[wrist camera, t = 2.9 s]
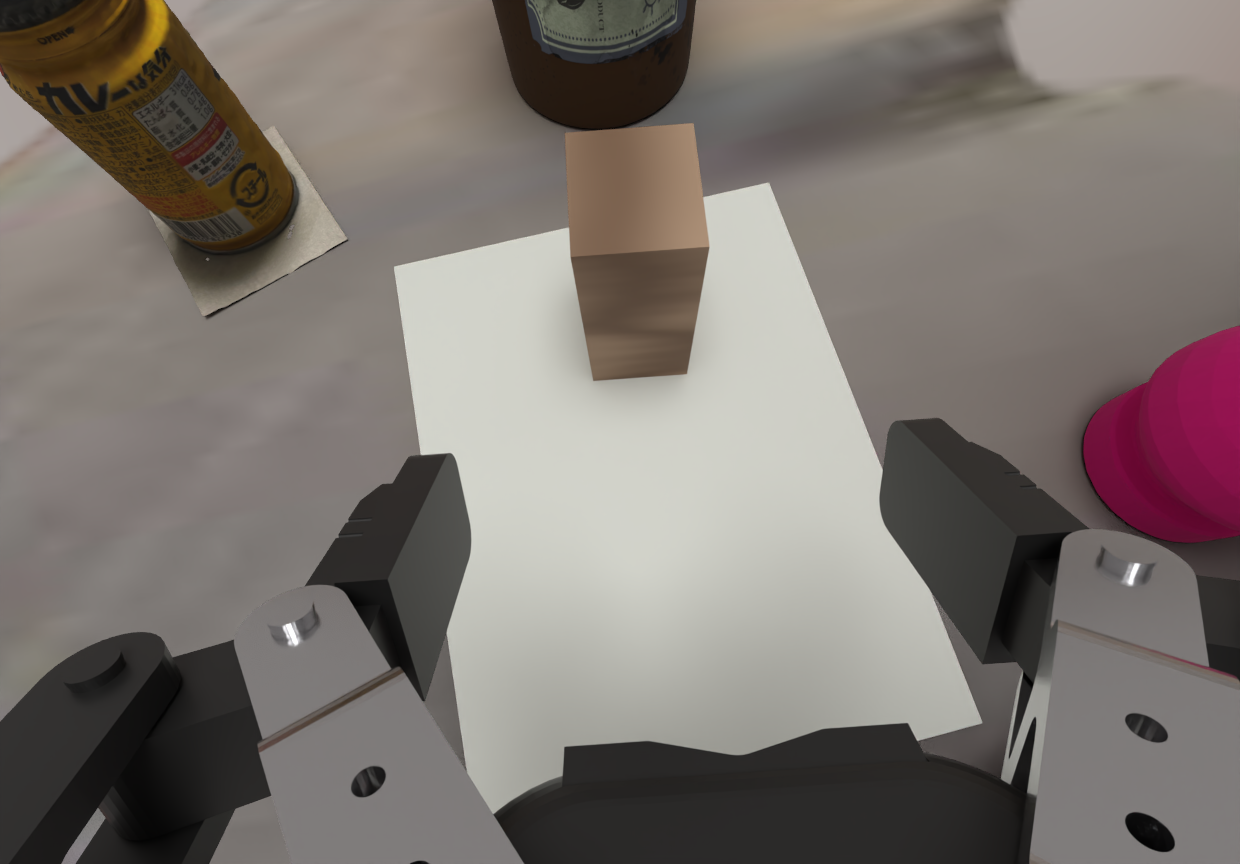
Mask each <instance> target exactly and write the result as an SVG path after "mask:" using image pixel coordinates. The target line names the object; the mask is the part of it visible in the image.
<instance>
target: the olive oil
mask: <svg viewBox="0 0 1240 864" xmlns="http://www.w3.org/2000/svg"><path fill="white" fill-rule="evenodd" d="M492 2H493V6H494V10H495V13H496V17H497V21H498V25H499V29H500V33H501V36H502V40H503V44H504V48H505V52H506V56H507V59H508V63H509V67H510V71H511V74H512V77H513V80H514V83H515V85H516V87H517V89H518V91H519V92H520V94H521V95H522V97H523V98H524V99H525V100H526V102H527V103H528V104H529V105H530V106H532V107H533V108H534V109H535V110H536V111H538V112H539V113H541V114H542V115H544V116H546V117H548V118H550V119H552V120H554V121H557V122H559V123H562V124H566V125H569V126H574V127H580V128H589V129H602V128H612V127H618V126H623V125H626V124H630V123H633V122H636V121H638V120H640V119H643V118H645V117H647V116H649V115H650V114H652V113H654V112H655V111H657V110H658V109H660V108H661V107H662V106H664V105H665V104H666V103H667V102H668V101H669V100H670V99H671V98H672V97H673V96H674V95H675V93H676V92H677V91H678V89H679V88H680V86H681V84H682V82H683V80H684V78H685V75H686V71H687V68H688V63H689V56H690V48H691V39H692V31H693V22H694V13H695V4H696V0H492Z"/></svg>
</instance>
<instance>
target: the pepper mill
mask: <svg viewBox="0 0 1240 864" xmlns="http://www.w3.org/2000/svg"><path fill="white" fill-rule="evenodd" d="M1083 454H1084V459H1085V465H1086V470H1087V473H1088V475H1089V477H1090V479H1091V481H1092V483H1093V485H1094V487H1095V489H1096V492H1097V493H1098V495H1099V496H1100V497H1101V498H1102V499H1103V500H1104V502H1105V503H1106V504H1107V505H1108V506H1109V508H1110V509H1111V510H1112V511H1113V512H1114V513H1116V514H1117V515H1118V516H1119V517H1121V518H1122V519H1123V520H1124V521H1126V522H1127V523H1128V524H1129V525H1131V526H1133V527H1135V528H1137V529H1138V530H1140V531H1142V532H1145V533H1147V534H1149V535H1151V536H1154V537H1157V538H1160V539H1164V540H1168V541H1172V542H1185V543H1197V542H1204V541H1210V540H1216V539H1222V538H1229V537H1234V536H1239V535H1240V326H1237V327H1233V328H1230V329H1226V330H1223V331H1220V332H1218V333H1215V334H1213V335H1210V336H1208V337H1206V338H1203V339H1201V340H1199V341H1196V342H1194V343H1192V344H1190V345H1188V346H1186V347H1184V348H1182V349H1180V350H1179V351H1177V352H1175V353H1174V354H1173V355H1171V356H1170V357H1169V358H1167V359H1166V360H1165V361H1164V362H1163V363H1162V364H1161V365H1160V366H1159V367H1158V368H1157V369H1156V370H1155V372H1154V374H1153V375H1152V377H1151V378H1150V380H1149V381H1148V382H1147V383H1144V384H1142V385H1140V386H1138V387H1136V388H1134V389H1132V390H1130V391H1128V392H1126V393H1124V394H1122V395H1120V396H1118V397H1116V398H1114V399H1112V400H1111V401H1109V402H1108V403H1106V404H1104V405H1103V406H1102V407H1101V408H1100V409H1099V410H1098V411H1097V412H1096V413H1095V415H1094V416H1093V417H1092V419H1091V421H1090V423H1089V425H1088V427H1087V430H1086V433H1085V436H1084V451H1083Z"/></svg>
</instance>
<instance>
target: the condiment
mask: <svg viewBox="0 0 1240 864" xmlns="http://www.w3.org/2000/svg"><path fill="white" fill-rule="evenodd" d="M0 72H1V73H2V76H3V77H4V78H5V79H6V81H7V82H8V84H9V86H10V87H11V88H12V89H13V90H14V91H15V92H16V93H17V94H19V96H20V97H22V98H23V100H24V101H26V102H27V103H28V104H29V105H30V106H32V107H33V109H35V110H36V111H38V112H39V113H40V114H41V115H42V116H44V118H45V119H47V120H48V121H49V122H50V123H51V124H52V125H53V126H54V127H55V128H57V129H58V130H59V131H61V132H62V133H63V134H64V135H65V136H66V137H67V138H69V139H70V140H71V141H72V142H73V143H74V144H76V145H77V146H78V147H79V148H80V149H81V150H82V151H84V152H85V153H86V154H87V155H88V156H89V157H90V158H92V159H93V160H94V161H95V162H96V163H97V164H98V165H99V166H100V167H102V168H103V169H104V170H105V171H106V172H107V173H109V174H110V175H111V176H112V177H113V178H114V179H115V180H116V181H117V182H119V183H120V184H121V185H122V186H123V187H124V188H125V189H126V190H127V191H128V192H129V193H131V194H132V195H133V196H134V197H136V198H137V200H138V201H140V202H141V203H142V204H143V205H144V206H145V207H146V208H147V209H148V211H149V212H150V214H151V216H152V218H153V220H154V221H155V224H156V226H157V228H158V229H159V231H160V233H161V235H162V237H163V238H164V241H165V243H166V244H167V246H168V248H169V250H170V253H171V255H172V256H173V259H174V261H175V264H176V266H177V267H178V269H179V270H180V272H181V274H182V276H183V278H184V280H185V282H186V283H187V285H188V288H189V289H190V291H191V293H192V296H193V298H194V300H195V302H196V304H197V306H198V307H199V309H200V311H201V313H202V315H203V317H204V316H206V315H208V314H210V313H212V312H214V311H216V310H218V309H219V308H223V307H226V306H228V305H230V304H231V303H233V302H235V301H237V300H239V299H241V298H243V297H245V296H247V295H248V294H250V293H251V292H254V291H257V290H259V289H261V288H263V287H264V286H266V285H268V284H270V283H272V282H273V281H275V280H277V279H278V278H280V277H282V276H284V275H286V274H290V273H291V272H293V271H294V270H295V269H297V268H298V267H300V266H301V265H303V264H304V263H306V262H308V261H309V260H311V259H314V258H316V257H318V256H320V255H322V254H324V253H325V252H326V251H327V250H329V249H331V248H333V247H334V246H336V245H338V244H340V243H341V242H343V241H345V240H347V238H346V236H345V235H344V233H343V231H342V230H341V228H340V227H339V225H338V224H337V222H336V221H335V219H334V218H333V216H332V215H331V213H330V212H329V210H328V208H327V207H326V206H325V204H324V202H323V201H322V199H321V198H320V196H319V195H318V193H317V191H316V190H315V188H314V187H313V185H312V184H311V182H310V181H309V179H308V177H307V176H306V174H305V173H304V171H303V170H302V168H301V167H300V165H299V164H298V162H297V160H296V159H295V157H294V156H293V154H292V153H291V151H290V150H289V148H288V147H287V145H286V144H285V142H284V140H283V139H282V137H281V136H280V134H279V133H278V131H277V130H276V128H275V127H274V126H272V127H271V128H269V129H267V130H265V131H263V132H261V130H260V129H259V128H258V126H257V124H255V123H254V122H253V120H252V118H251V117H250V116H249V115H248V113H247V112H246V110H245V109H244V107H243V106H242V105H241V103H240V101H239V100H238V98H237V97H236V95H235V94H234V92H233V91H232V90H231V89H230V88H229V87H228V85H227V83H226V82H225V81H224V80H223V79H222V78H221V77H220V75H219V74H218V73H217V71H216V70H215V69H214V68H213V66H212V65H211V64H210V62H209V61H208V60H207V58H206V57H205V55H204V53H203V52H202V51H201V50H200V49H199V47H198V46H197V44H196V42H195V41H194V40H193V39H192V38H191V36H190V34H189V33H188V31H187V30H186V29H185V28H184V27H183V26H182V24H181V22H180V21H179V19H178V18H177V17H176V15H175V14H174V13H173V12H172V11H171V10H170V8H169V7H168V5H167V4H166V2H165V1H164V0H0ZM293 224H294V225H295V226H294V228H293V230H292V237H291V238H290V239H288V238H287V236H288V233H289V232H290V230H289V227H290V226H291V225H293ZM206 258H209V261H207V260H205V259H206Z"/></svg>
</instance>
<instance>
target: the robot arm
mask: <svg viewBox="0 0 1240 864" xmlns="http://www.w3.org/2000/svg"><path fill="white" fill-rule="evenodd" d="M879 504H880V512H881V516H882V519H883V522H884V524H885V527H886V528H887V530H888V531H889V533H890V534H891V535H892V537H893V538H894V540H895V541H896V543H897V544H898V545H899V547H900V548H901V550H902V551H903V552H904V554H905V555H906V557H907V558H908V560H909V561H910V562H911V564H912V565H913V567H914V568H915V569H916V571H917V572H918V574H919V575H920V576H921V578H922V579H923V581H924V582H925V584H926V585H927V586H928V588H929V589H930V591H931V592H932V593H933V595H934V596H935V598H936V599H937V601H938V602H939V603H940V605H941V606H942V608H943V609H944V610H945V612H946V613H947V615H948V616H949V618H950V619H951V620H952V622H953V623H954V625H955V626H956V627H957V629H958V630H959V632H960V633H961V635H962V636H963V637H964V639H965V640H966V642H967V643H968V644H969V646H970V647H971V649H972V650H973V651H974V653H975V654H976V656H977V657H978V659H979V660H980V661H981V663H982V664H993V663H1007V662H1017V663H1018V664H1019V666H1020V667H1021V668H1022V669H1023V671H1022V674H1021V677H1020V680H1019V683H1018V687H1017V692H1016V697H1015V703H1014V708H1013V714H1012V719H1011V725H1010V730H1009V736H1008V741H1007V747H1006V753H1005V758H1004V764H1003V769H1002V775H1001V779H999V778H997V777H995V776H993V775H991V774H988V773H986V772H984V771H982V770H980V769H977V768H975V767H972V766H969V765H967V764H964V763H961V762H958V761H956V760H952V759H949V758H945V757H941V756H937V755H934V754H929V753H924V752H923V751H922V749H921V747H920V745H919V743H918V741H917V740H916V738H915V736H914V734H913V732H912V730H911V728H910V726H909V724H908V723H898V724H884V725H869V726H855V727H841V728H826V729H821V730H818V731H815V732H812V733H809V734H806V735H803V736H800V737H797V738H794V739H791V740H788V741H785V742H782V743H779V744H776V745H773V746H770V747H767V748H764V749H761V750H758V751H755V752H752V753H749V754H745V755H730V754H724V753H718V752H712V751H706V750H700V749H694V748H688V747H682V746H676V745H670V744H664V743H658V742H653V741H639V742H624V743H610V744H595V745H581V746H566V747H564V761H563V776H560V777H557V778H554V779H551V780H548V781H546V782H544V783H542V784H540V785H538V786H536V787H533V788H531V789H529V790H528V791H526V792H524V793H523V794H521V795H519V796H518V797H516V798H514V799H513V800H511V801H510V802H508V803H507V804H506V805H504V806H503V807H502V808H500V809H499V810H498V811H497V812H495V813H494V814H493V813H492V812H491V810H490V808H489V807H488V805H487V804H486V802H485V801H484V799H483V797H482V796H481V794H480V793H479V791H478V789H477V788H476V786H475V785H474V783H473V781H472V780H471V778H470V777H469V775H468V773H467V772H466V770H465V769H464V767H463V765H462V764H461V762H460V761H459V759H458V757H457V756H456V754H455V753H454V751H453V749H452V748H451V746H450V745H449V743H448V741H447V740H446V738H445V737H444V735H443V733H442V732H441V730H440V729H439V727H438V725H437V724H436V722H435V721H434V719H433V717H432V716H431V714H430V713H429V711H428V709H427V708H426V706H425V705H424V703H423V701H425V699H426V696H427V693H428V690H429V686H430V683H431V680H432V677H433V674H434V670H435V667H436V664H437V661H438V657H439V654H440V651H441V648H442V645H443V641H444V638H445V635H446V632H447V628H448V625H449V622H450V619H451V616H452V612H453V609H454V606H455V603H456V599H457V596H458V593H459V590H460V587H461V583H462V580H463V577H464V574H465V570H466V567H467V564H468V561H469V557H470V553H471V527H470V521H469V516H468V512H467V507H466V502H465V498H464V493H463V489H462V484H461V479H460V475H459V470H458V466H457V462H456V459H455V457H454V456H453V454H452V453H442V454H429V455H415V456H410V457H408V459H407V460H406V462H405V463H404V465H403V467H402V469H401V470H400V472H399V474H398V475H397V477H396V479H395V480H394V482H393V484H382V485H380V486H379V487H378V488H376V489H375V490H374V491H372V492H371V493H370V494H369V495H367V496H366V497H365V498H363V499H362V500H361V501H360V502H359V504H358V505H357V507H356V508H355V510H354V511H353V513H352V514H351V516H350V517H349V519H348V520H349V522H348V523H346V524H345V525H344V527H343V528H342V530H341V531H340V533H339V538H336V539H335V540H334V542H333V544H332V545H331V547H330V548H329V550H328V551H327V553H326V554H325V556H324V557H323V559H322V560H321V562H320V564H319V565H318V567H317V568H316V570H315V571H314V573H313V574H312V576H311V577H310V579H309V580H308V582H307V584H306V585H305V586H304V587H300V588H296V589H293V590H290V591H287V592H285V593H282V594H280V595H278V596H276V597H274V598H272V599H270V600H268V601H267V602H265V603H263V604H262V605H261V606H259V607H258V608H256V609H255V610H254V611H253V612H252V613H251V614H249V615H248V616H247V618H246V619H245V620H244V621H243V622H242V623H241V625H240V626H239V628H238V630H237V632H236V634H235V638H234V640H231V641H228V642H225V643H222V644H218V645H215V646H211V647H208V648H204V649H201V650H197V651H194V652H190V653H187V654H183V655H180V656H177V657H173V658H172V656H171V654H170V652H169V650H168V649H167V647H166V645H165V643H164V641H163V640H162V639H161V637H159V636H157V635H155V634H152V633H146V632H136V633H128V634H123V635H119V636H115V637H111V638H109V639H106V640H103V641H100V642H98V643H95V644H93V645H91V646H89V647H87V648H85V649H83V650H81V651H79V652H77V653H75V654H74V655H72V656H70V657H69V658H67V659H65V660H64V661H63V662H61V663H60V664H58V665H57V666H55V667H54V668H53V669H52V670H50V671H49V672H48V673H47V674H46V675H45V676H44V677H43V678H42V679H40V680H39V681H38V682H37V684H36V685H35V686H34V687H33V688H32V689H31V690H30V691H29V692H28V693H27V694H26V695H25V696H24V697H23V698H22V699H21V700H20V701H19V702H18V704H17V705H16V706H15V707H14V708H13V709H12V710H11V711H10V712H9V713H8V714H7V715H6V716H5V717H4V718H3V719H2V720H1V721H0V864H61V863H62V861H63V859H64V857H65V855H66V854H67V852H68V850H69V849H70V847H71V846H72V844H73V843H74V842H75V840H76V839H77V837H78V836H79V834H80V833H81V831H82V830H83V828H84V827H85V825H86V824H87V823H88V821H89V820H90V818H91V817H92V815H93V814H94V812H95V811H96V809H97V808H99V809H100V811H101V812H102V813H103V815H104V816H105V818H106V819H105V820H104V822H103V823H102V825H101V826H100V828H99V829H98V831H97V832H96V834H95V835H94V837H93V838H92V840H91V841H90V843H89V844H88V846H87V847H86V849H85V850H84V852H83V853H82V855H81V856H80V858H79V859H78V861H77V863H76V864H209V863H210V861H211V858H212V856H213V854H214V852H215V850H216V848H217V846H218V844H219V842H220V840H221V838H222V836H223V834H224V831H225V829H226V827H227V825H228V823H229V821H230V819H231V817H232V815H233V813H234V811H235V809H236V808H238V807H241V806H244V805H247V804H249V803H252V802H255V801H258V800H260V799H263V798H266V797H269V796H272V799H273V803H274V806H275V810H276V813H277V817H278V820H279V823H280V827H281V830H282V834H283V837H284V841H285V844H286V847H287V851H288V854H289V858H290V861H291V864H1240V581H1236V580H1229V579H1221V578H1213V577H1205V576H1197V575H1195V573H1194V571H1193V570H1192V568H1191V567H1190V566H1189V565H1188V564H1187V563H1186V562H1185V561H1184V560H1183V559H1182V558H1180V557H1179V556H1178V555H1176V554H1175V553H1173V552H1172V551H1170V550H1168V549H1166V548H1164V547H1163V546H1161V545H1159V544H1156V543H1154V542H1152V541H1149V540H1147V539H1144V538H1141V537H1138V536H1135V535H1131V534H1127V533H1123V532H1118V531H1112V530H1104V529H1089V528H1088V527H1087V526H1085V525H1084V524H1083V523H1082V522H1081V521H1079V520H1078V519H1077V518H1076V517H1074V516H1073V515H1072V514H1071V513H1070V512H1068V511H1067V510H1066V509H1065V508H1064V507H1062V506H1061V505H1060V504H1059V503H1058V502H1056V501H1055V500H1054V499H1053V498H1051V497H1050V496H1049V495H1048V494H1047V493H1045V492H1044V491H1043V490H1042V489H1037V488H1036V484H1035V483H1033V482H1032V481H1031V480H1030V479H1028V478H1027V477H1026V476H1025V475H1020V471H1019V470H1018V469H1016V468H1015V467H1014V466H1013V465H1011V464H1010V463H1009V462H1008V461H1007V460H1005V459H1004V458H1003V457H1002V456H1001V455H999V454H997V453H994V452H992V451H990V450H988V449H986V448H983V447H981V446H979V445H977V444H975V443H973V442H967V441H966V440H965V439H964V438H963V437H962V436H961V435H959V434H958V433H957V432H956V431H955V430H954V429H952V428H951V427H950V426H949V425H948V424H947V423H945V422H944V421H943V420H942V419H939V418H930V419H916V420H903V421H895V422H894V423H893V424H892V425H891V427H890V429H889V432H888V437H887V444H886V452H885V459H884V466H883V473H882V480H881V487H880V495H879Z"/></svg>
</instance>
